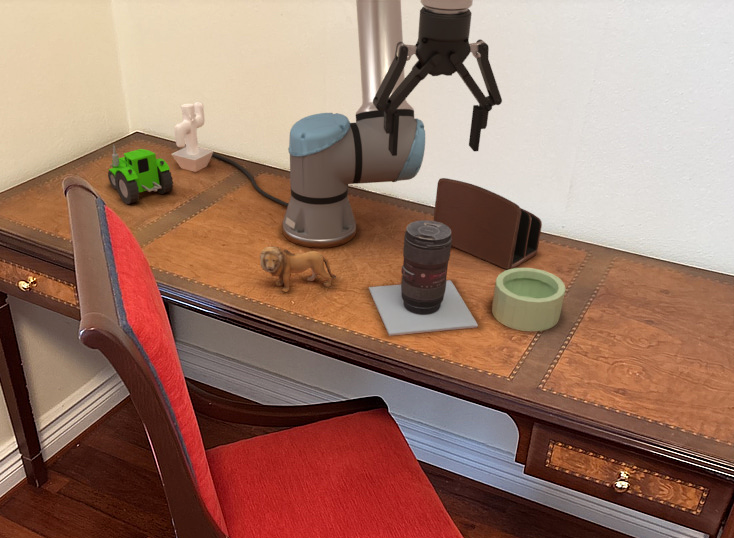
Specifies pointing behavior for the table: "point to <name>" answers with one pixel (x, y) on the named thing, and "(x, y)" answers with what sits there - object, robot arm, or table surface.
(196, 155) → the figurine
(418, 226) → the camera lens
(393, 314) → the mat
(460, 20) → the robot arm
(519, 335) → the table surface
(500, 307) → the bowl
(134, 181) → the toy tractor
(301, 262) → the lion figurine
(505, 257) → the letter holder
